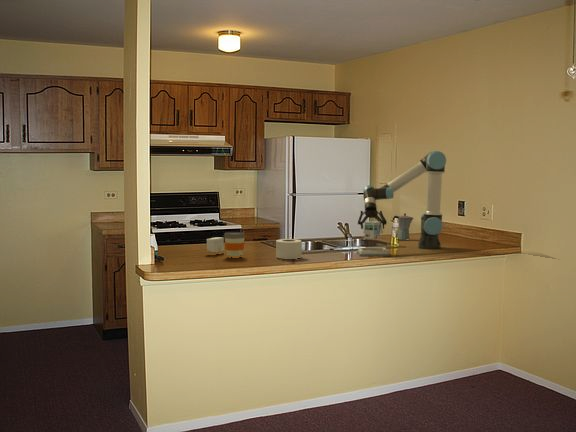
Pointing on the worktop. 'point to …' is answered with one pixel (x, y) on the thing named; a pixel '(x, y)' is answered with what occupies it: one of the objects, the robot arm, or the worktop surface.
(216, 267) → the worktop surface
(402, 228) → the moka pot
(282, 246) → the cream short cylinder
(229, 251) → the reusable coffee cup
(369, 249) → the slot holder
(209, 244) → the skincare box
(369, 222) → the light bulb box
